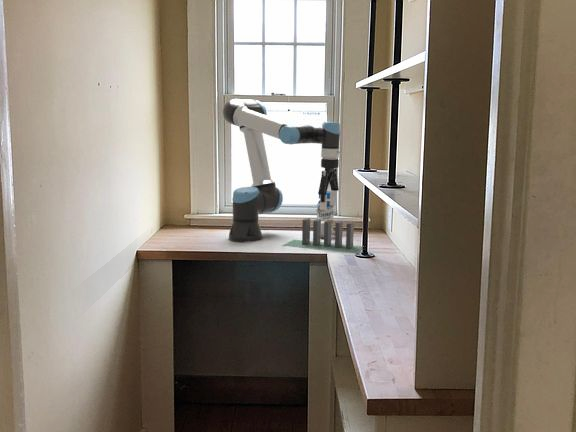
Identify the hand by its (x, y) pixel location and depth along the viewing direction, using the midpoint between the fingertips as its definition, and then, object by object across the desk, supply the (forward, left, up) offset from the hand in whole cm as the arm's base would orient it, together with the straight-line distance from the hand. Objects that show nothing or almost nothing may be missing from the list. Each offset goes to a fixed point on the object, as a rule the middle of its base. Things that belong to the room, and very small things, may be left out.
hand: (328, 207), depth 257 cm
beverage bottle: (-11, +29, -17) cm, 36 cm away
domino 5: (+10, 0, -17) cm, 20 cm away
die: (-7, +16, -18) cm, 25 cm away
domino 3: (0, 0, -17) cm, 17 cm away
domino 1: (-10, 0, -17) cm, 19 cm away
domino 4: (+5, 0, -17) cm, 18 cm away
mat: (-1, -2, -17) cm, 17 cm away
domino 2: (-5, 0, -17) cm, 17 cm away
